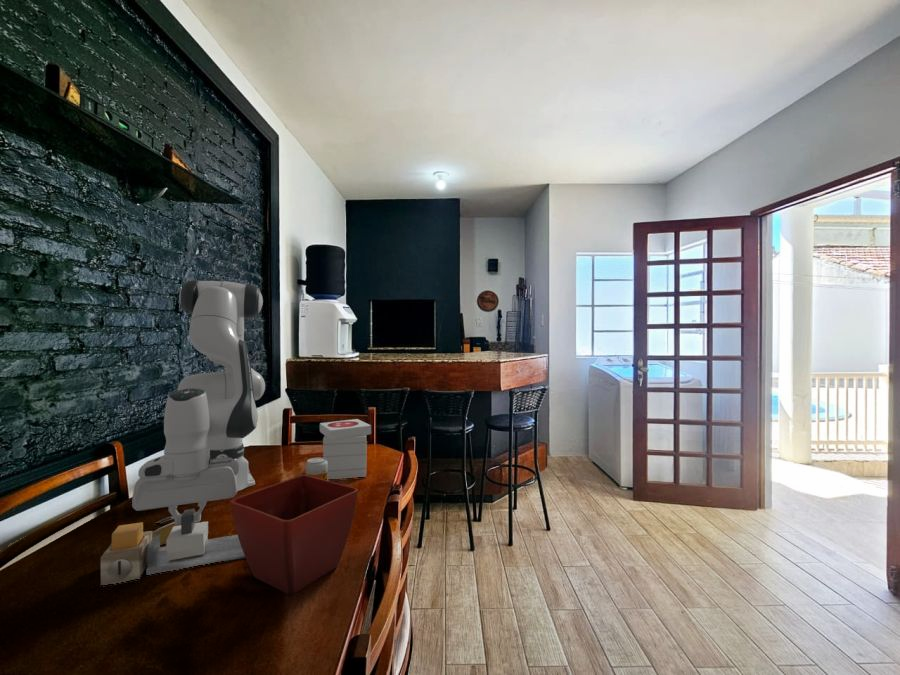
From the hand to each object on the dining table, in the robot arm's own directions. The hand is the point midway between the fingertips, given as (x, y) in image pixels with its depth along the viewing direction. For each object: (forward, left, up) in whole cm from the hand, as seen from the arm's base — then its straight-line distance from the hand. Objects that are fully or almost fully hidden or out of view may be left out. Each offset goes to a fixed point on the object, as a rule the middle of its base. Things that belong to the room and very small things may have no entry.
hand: (188, 522), depth 96 cm
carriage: (0, 0, -7) cm, 7 cm away
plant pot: (+15, +22, -9) cm, 28 cm away
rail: (0, +5, -9) cm, 10 cm away
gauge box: (0, -11, -9) cm, 14 cm away
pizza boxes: (-54, +44, -9) cm, 70 cm away
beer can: (-16, +29, -9) cm, 35 cm away
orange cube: (0, -11, -3) cm, 12 cm away
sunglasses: (-17, -10, -9) cm, 21 cm away
